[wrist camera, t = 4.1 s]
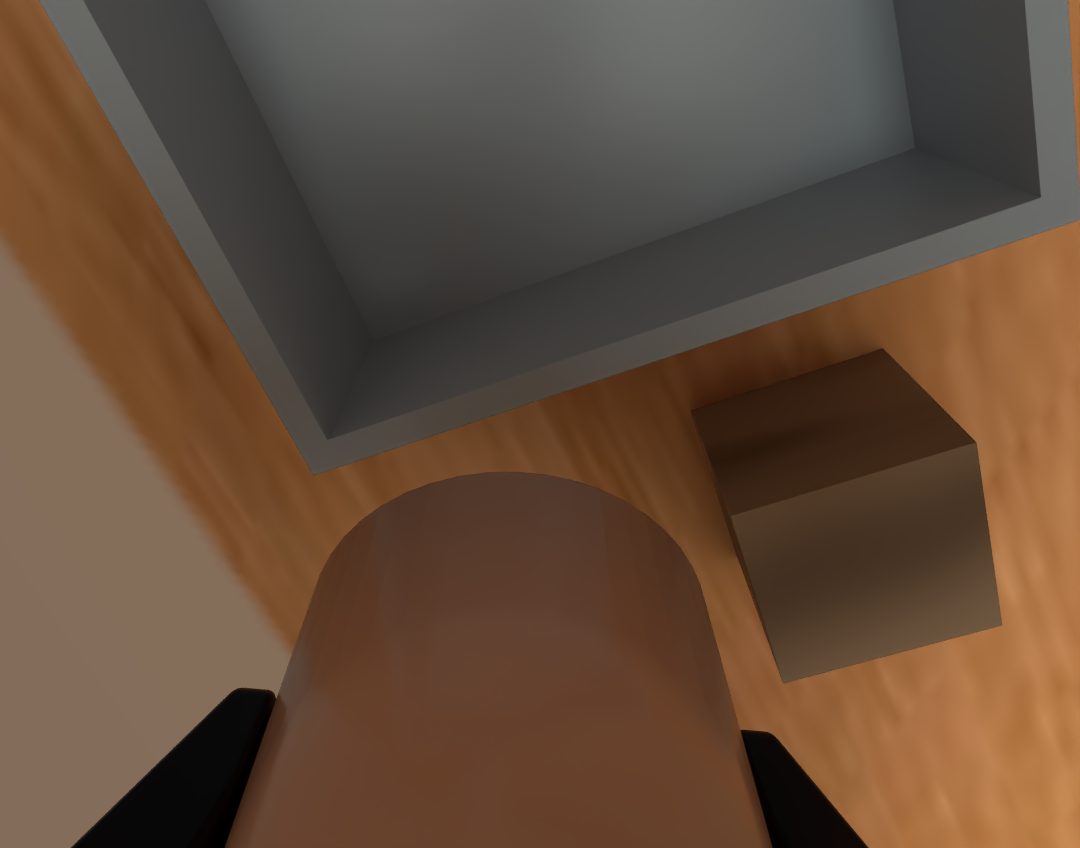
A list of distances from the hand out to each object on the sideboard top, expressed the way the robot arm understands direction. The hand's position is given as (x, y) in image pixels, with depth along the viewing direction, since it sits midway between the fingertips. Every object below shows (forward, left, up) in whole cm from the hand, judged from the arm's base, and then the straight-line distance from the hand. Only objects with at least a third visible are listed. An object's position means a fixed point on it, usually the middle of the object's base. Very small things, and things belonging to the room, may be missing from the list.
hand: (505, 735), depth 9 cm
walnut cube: (-3, -8, -13) cm, 15 cm away
